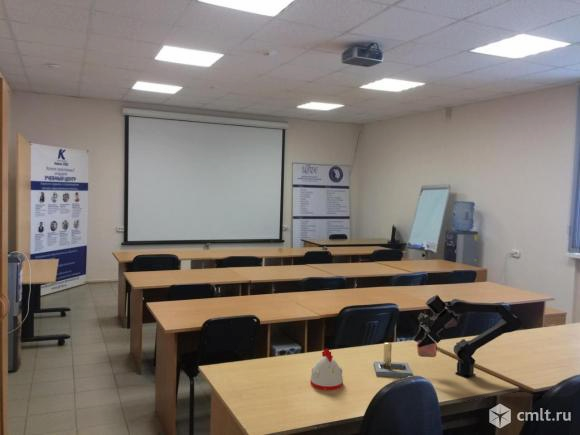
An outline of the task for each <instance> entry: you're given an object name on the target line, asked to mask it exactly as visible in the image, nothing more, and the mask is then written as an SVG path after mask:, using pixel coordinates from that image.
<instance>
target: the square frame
mask: <svg viewBox="0 0 580 435" xmlns="http://www.w3.org/2000/svg"><path fill="white" fill-rule="evenodd" d="M383 363H384V361H376V360H375V361H373V369H374V373H375V376H376V377H394V378H409V377H408V376H412V377H413V370H412V369H411V367H410V365H409V363H408V362H394V361H391V367H392V368H393V369H395V370H388V369H382V367H383ZM396 369H401V370H396Z"/></svg>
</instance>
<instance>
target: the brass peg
mask: <svg viewBox="0 0 580 435" xmlns="http://www.w3.org/2000/svg"><path fill="white" fill-rule="evenodd" d="M392 346H393V345H392V342H387V341H385V342H383V362H384V363H383V367H382V368H381V369H388V370H393V369H394V368H392V367H391V362H392V349H393V348H392Z"/></svg>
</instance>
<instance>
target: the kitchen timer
mask: <svg viewBox="0 0 580 435" xmlns="http://www.w3.org/2000/svg"><path fill="white" fill-rule="evenodd" d="M321 355H322V357H321V358H319V359H318V360H317V361H316V363H315V364H314V366H313V367H311V375H310V385H311V386H312V387H313V388H314V389H317V388H318V389H317V390H321V391H336V390H338V389H341V388H342V387H343V386H344V385H343V384H344V379H343V368H342V367H341V366H340V365H339V364H338V362H337V360H335V358H333V357H334V355H332V351H330V349H328V348H325V349H324V350H323V351H321Z"/></svg>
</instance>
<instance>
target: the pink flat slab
mask: <svg viewBox="0 0 580 435" xmlns="http://www.w3.org/2000/svg"><path fill="white" fill-rule="evenodd" d="M421 340H422V339H419V340H417V341H416V342H417V343H418V344H419V343H420V342H421ZM417 343H416V348H417V355H418V356H419V357H425V358H436V356H437V343H436V342H435V343H434V344H430V345H426V346H423V347H418V344H417Z"/></svg>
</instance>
